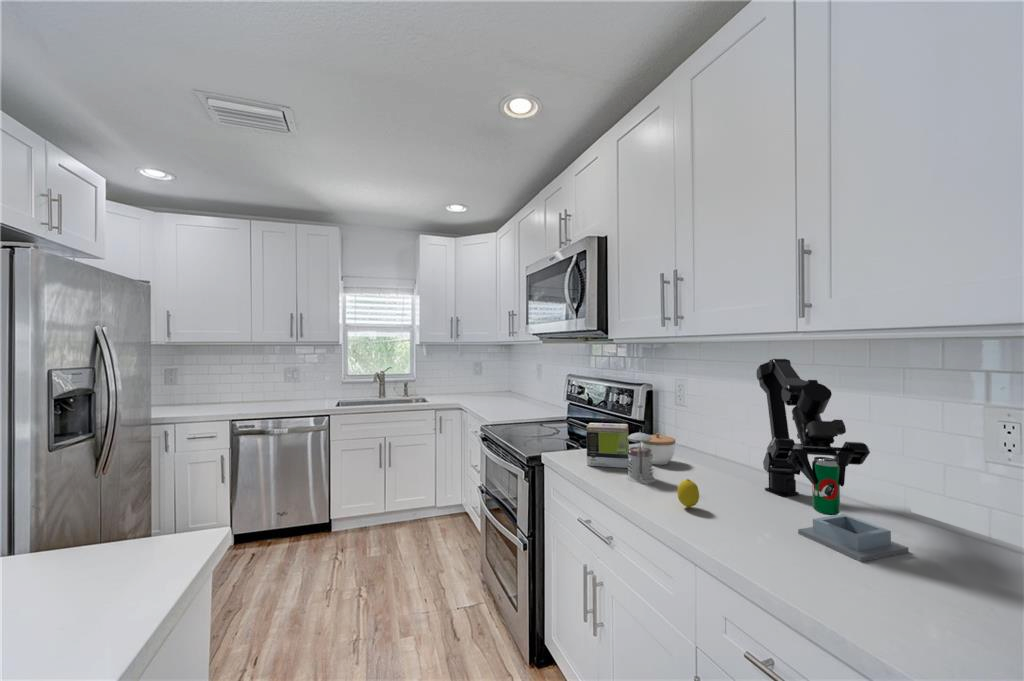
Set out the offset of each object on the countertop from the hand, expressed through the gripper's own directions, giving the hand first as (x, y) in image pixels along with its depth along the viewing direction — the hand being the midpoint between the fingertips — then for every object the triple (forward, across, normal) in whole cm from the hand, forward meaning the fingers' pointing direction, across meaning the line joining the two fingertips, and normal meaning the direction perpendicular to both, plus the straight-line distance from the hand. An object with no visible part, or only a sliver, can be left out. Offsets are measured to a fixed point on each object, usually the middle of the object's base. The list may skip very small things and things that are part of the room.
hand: (828, 484), depth 97 cm
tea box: (-27, -52, +47) cm, 76 cm away
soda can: (+4, 0, +6) cm, 7 cm away
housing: (+8, +5, +11) cm, 14 cm away
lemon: (0, -28, +19) cm, 34 cm away
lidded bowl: (-32, -34, +52) cm, 70 cm away
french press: (-16, -41, +36) cm, 56 cm away
